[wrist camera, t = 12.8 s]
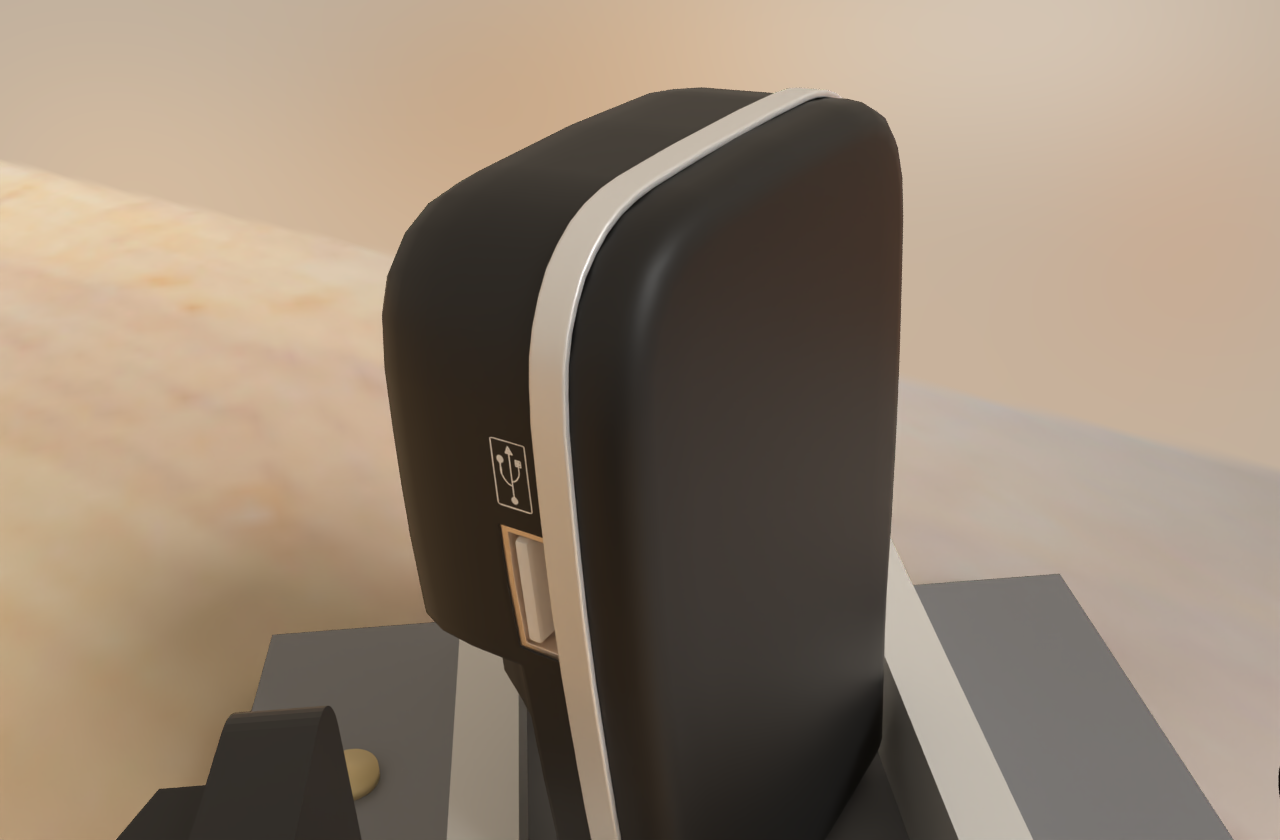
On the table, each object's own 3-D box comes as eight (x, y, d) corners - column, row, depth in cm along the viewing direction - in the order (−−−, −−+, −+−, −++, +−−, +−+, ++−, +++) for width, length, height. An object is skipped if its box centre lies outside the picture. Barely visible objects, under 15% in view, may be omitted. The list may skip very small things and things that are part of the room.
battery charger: (700, 673, 22) (660, 44, 17) (893, 744, 20) (922, 59, 15) (455, 962, 17) (281, 198, 12) (681, 1093, 15) (604, 252, 10)
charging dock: (1050, 619, 25) (1074, 492, 23) (1428, 1238, 15) (1517, 1087, 13) (283, 681, 24) (253, 553, 22) (105, 1394, 14) (27, 1250, 12)
